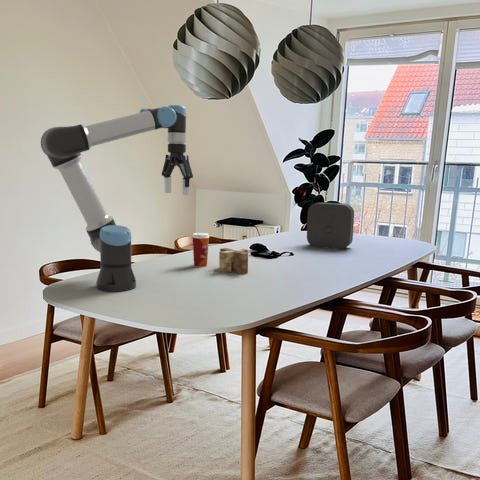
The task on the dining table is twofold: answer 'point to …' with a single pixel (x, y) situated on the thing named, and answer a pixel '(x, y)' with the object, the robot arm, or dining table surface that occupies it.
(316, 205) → the speaker
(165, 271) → the dining table surface
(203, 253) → the coffee cup
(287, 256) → the dining table surface
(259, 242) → the dining table surface
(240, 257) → the wooden notched block
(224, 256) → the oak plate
